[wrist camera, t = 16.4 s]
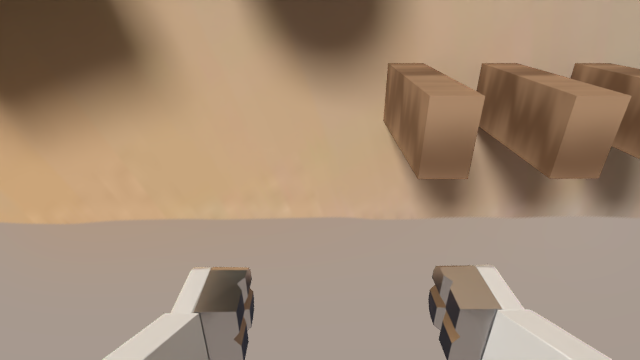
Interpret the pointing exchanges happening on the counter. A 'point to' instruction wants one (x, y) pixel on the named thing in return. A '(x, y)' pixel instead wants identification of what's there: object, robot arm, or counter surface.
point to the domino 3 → (636, 126)
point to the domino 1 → (432, 120)
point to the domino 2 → (550, 118)
